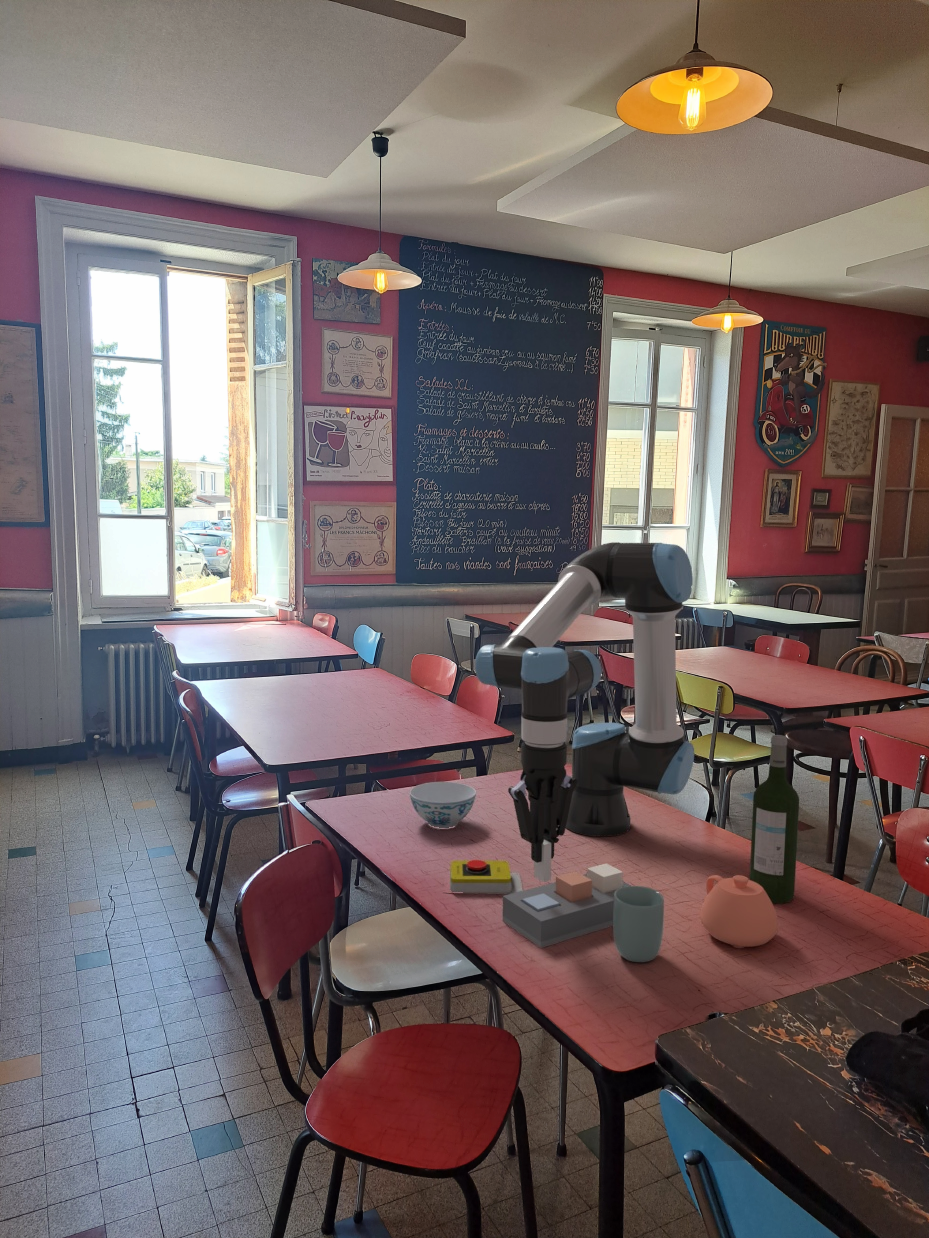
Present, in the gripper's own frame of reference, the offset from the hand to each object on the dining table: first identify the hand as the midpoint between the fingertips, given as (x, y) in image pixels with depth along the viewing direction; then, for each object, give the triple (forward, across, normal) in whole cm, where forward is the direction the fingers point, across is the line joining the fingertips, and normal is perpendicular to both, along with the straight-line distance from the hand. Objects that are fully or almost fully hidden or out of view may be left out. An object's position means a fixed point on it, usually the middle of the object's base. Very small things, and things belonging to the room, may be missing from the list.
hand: (542, 878), depth 145 cm
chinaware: (+10, -10, -52) cm, 54 cm away
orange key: (+5, -7, 0) cm, 8 cm away
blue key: (+7, 0, 0) cm, 7 cm away
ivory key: (+5, -14, 0) cm, 14 cm away
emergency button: (+10, -1, -20) cm, 22 cm away
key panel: (+9, -6, 0) cm, 11 cm away
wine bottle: (+10, -44, +11) cm, 47 cm away
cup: (+9, -7, +16) cm, 19 cm away
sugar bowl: (+9, -26, +18) cm, 33 cm away
